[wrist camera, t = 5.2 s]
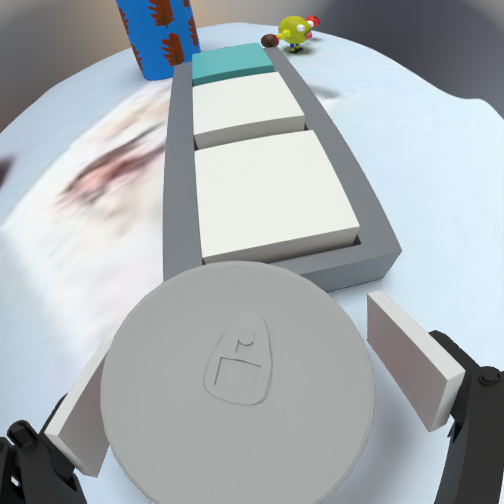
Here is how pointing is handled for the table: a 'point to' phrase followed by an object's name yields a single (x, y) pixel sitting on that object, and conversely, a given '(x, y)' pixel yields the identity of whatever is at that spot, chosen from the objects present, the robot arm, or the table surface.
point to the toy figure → (292, 32)
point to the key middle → (244, 110)
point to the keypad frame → (341, 158)
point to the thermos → (160, 34)
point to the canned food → (237, 389)
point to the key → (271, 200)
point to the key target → (230, 63)
